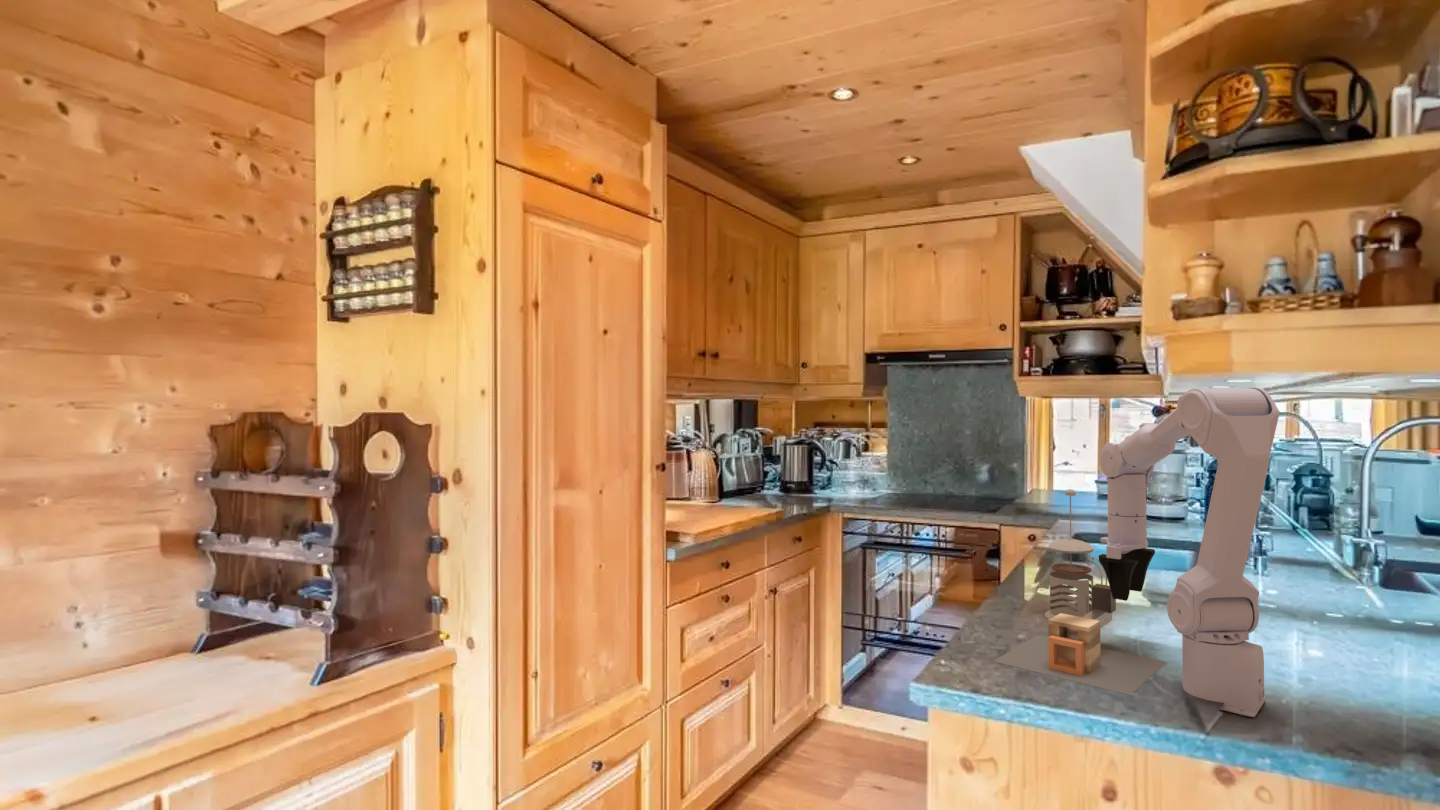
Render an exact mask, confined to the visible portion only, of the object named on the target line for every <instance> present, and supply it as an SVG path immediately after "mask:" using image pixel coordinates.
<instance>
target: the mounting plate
mask: <svg viewBox="0 0 1440 810" xmlns="http://www.w3.org/2000/svg"><path fill="white" fill-rule="evenodd" d="M1048 637H1049V636H1046V635H1041V634H1037V635H1036V636H1034V637H1032V638H1030V639H1028V640H1026V642H1024V643H1022V644H1021V645H1019V646H1017V647H1015V648H1013V649H1012V650H1010V651H1007V652H1006V653H1005V654H1003V655H1001V656H1000V657H998V658H996V659H994V660H993V661H992V662H993V663H996V664H997V663H998V664H1001V665H1007V666H1009V667H1015V668H1018V669H1023V670H1024V671H1025V670H1026V671H1031V672H1034V673H1038V674H1042V675H1046V676H1050V677H1055V678H1058V679H1063V680H1066V681H1070V682H1075V683H1079V684H1083V685H1087V686H1091V687H1094V688H1095V687H1096V688H1099V689H1103V690H1106V691H1111V692H1115V693H1118V694H1123V695H1128V696H1132V695H1133V694H1135V692H1136V691H1137V690H1138V689H1140V688H1141V687H1142V686H1143V685H1144V684H1145V683H1146V682H1147V681H1148V680H1149V679H1151V678H1152V676H1154V675H1155V673H1157V672H1159V670H1160V669H1161V668H1162V667H1164V666H1165V665H1166V664H1167V661H1163V660H1159V659H1154V658H1149V657H1145V656H1139V655H1135V654H1130V653H1125V652H1120V651H1116V650H1111V649H1107V648H1102V647H1100V653H1101V665H1100V666H1099V667H1098V668H1096V669H1095V670H1094V671H1093V672H1091V673H1090V674H1087V673H1084V674H1083V675H1082V676H1080V675H1075V674H1071V673H1067V672H1063V671H1058V670H1054V669H1050V668H1049V659H1048Z"/></svg>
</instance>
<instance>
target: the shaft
mask: <svg viewBox="0 0 1440 810" xmlns="http://www.w3.org/2000/svg"><path fill="white" fill-rule="evenodd" d="M1092 610H1093V611H1091V612H1089V613H1088V614H1086V615H1084V616H1083V618H1089V619H1094V620H1099V621H1100V629H1101V628H1103V627H1104V626H1106V625H1108V624H1109V623H1111V622H1112V621H1113V613H1114V612H1116V611H1117V599H1113V597H1112V593H1111V589H1110V585H1109V584H1107V585H1105V584H1101V583H1096V584H1093V586H1092ZM1067 638H1069V639H1074V640H1078V630H1077V629H1072V628H1067Z"/></svg>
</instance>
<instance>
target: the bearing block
mask: <svg viewBox="0 0 1440 810" xmlns="http://www.w3.org/2000/svg"><path fill="white" fill-rule="evenodd" d="M1047 621H1048V623H1047V624H1048V625H1047V626H1048V637H1050V636H1051V635H1054V636H1059V637H1064V638H1067V628H1072V629H1077V630H1078V640H1079V641H1084V651H1085V673H1087V674H1090V673H1091V672H1093V671H1094V670H1095V669H1096V668H1098V667H1099V666H1100V665H1101V653H1100V648H1101V628H1100V621H1099V620H1094V619H1089V618H1083V617H1078V616H1073V615H1067V614H1062V613H1060V614H1058V615H1056V616H1055V617H1053V618H1051V619H1048V620H1047ZM1057 662H1061V663H1065V664H1070V665H1074V666H1076V655H1075V648H1072V647H1067V646H1063V645H1058V644H1057Z"/></svg>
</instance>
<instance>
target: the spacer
mask: <svg viewBox="0 0 1440 810" xmlns="http://www.w3.org/2000/svg"><path fill="white" fill-rule="evenodd" d="M1047 637H1048V659H1049V668H1050V669H1054V670H1058V671H1063V672H1067V673H1071V674H1075V675H1080V676H1082V675H1083V674H1084V673H1085V651H1084V641H1079V640H1074V639H1069V638H1064V637H1059V636H1054V635H1051V636H1050V637H1049V636H1047ZM1057 644H1058V645H1063V646H1067V647H1072V648H1075V655H1076V666H1074V665H1070V664H1065V663H1061V662H1057Z"/></svg>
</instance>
